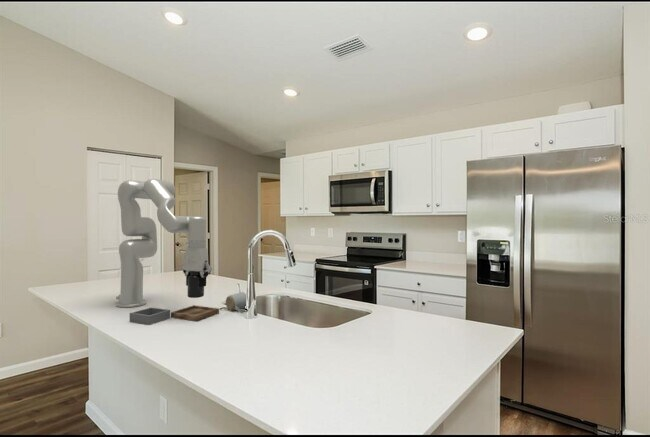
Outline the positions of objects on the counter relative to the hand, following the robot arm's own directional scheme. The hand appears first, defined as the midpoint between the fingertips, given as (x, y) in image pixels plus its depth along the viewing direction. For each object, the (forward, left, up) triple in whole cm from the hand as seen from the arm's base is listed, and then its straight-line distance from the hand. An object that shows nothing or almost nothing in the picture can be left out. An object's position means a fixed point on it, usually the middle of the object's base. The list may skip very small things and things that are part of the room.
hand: (196, 285), depth 155 cm
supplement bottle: (0, 0, -5) cm, 5 cm away
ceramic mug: (+11, +16, -13) cm, 24 cm away
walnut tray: (0, 0, -13) cm, 13 cm away
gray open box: (-12, -13, -13) cm, 22 cm away
